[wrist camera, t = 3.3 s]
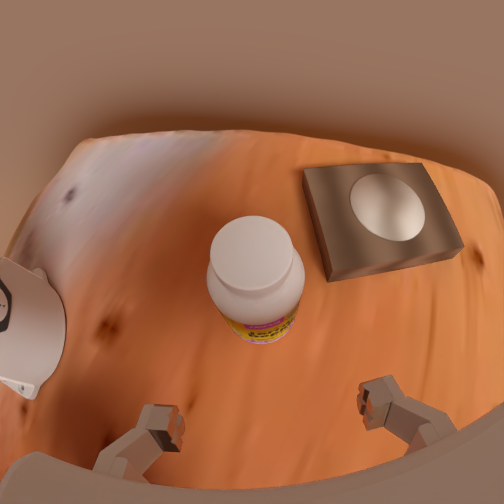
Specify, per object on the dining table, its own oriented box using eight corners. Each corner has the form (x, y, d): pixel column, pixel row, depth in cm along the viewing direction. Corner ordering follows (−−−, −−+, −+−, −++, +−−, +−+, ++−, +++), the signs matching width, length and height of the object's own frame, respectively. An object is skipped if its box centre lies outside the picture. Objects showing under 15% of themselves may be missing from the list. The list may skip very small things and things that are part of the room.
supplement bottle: (247, 357, 25) (221, 331, 13) (217, 300, 27) (175, 233, 16) (309, 322, 26) (334, 268, 14) (274, 269, 29) (271, 186, 17)
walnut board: (327, 282, 27) (333, 269, 24) (302, 185, 33) (303, 167, 31) (452, 258, 27) (465, 245, 24) (414, 177, 33) (422, 161, 30)
